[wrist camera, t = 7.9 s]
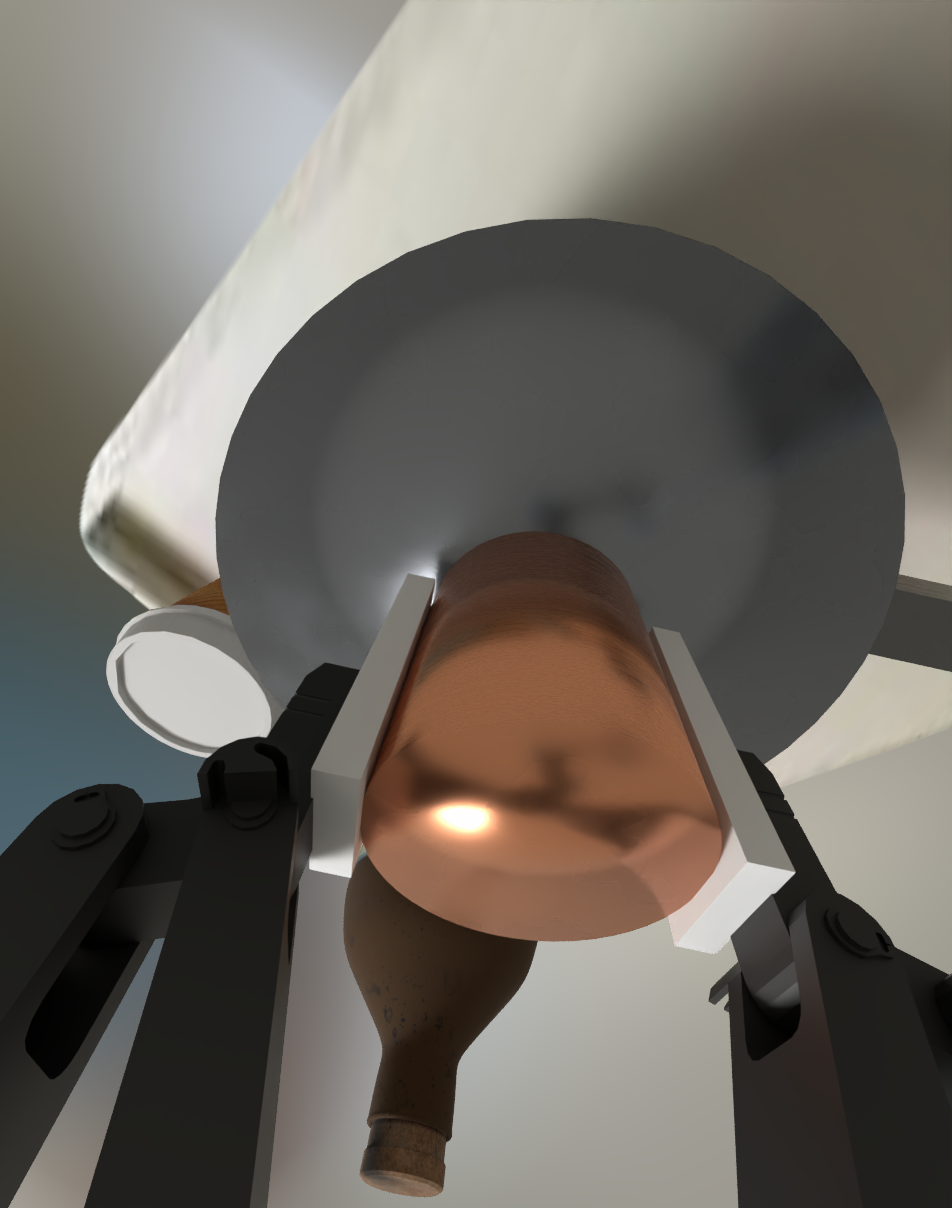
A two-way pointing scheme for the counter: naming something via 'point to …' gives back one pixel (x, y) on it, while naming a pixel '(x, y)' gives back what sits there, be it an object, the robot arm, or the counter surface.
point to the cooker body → (918, 624)
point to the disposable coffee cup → (190, 676)
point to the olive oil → (420, 1020)
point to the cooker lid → (562, 550)
